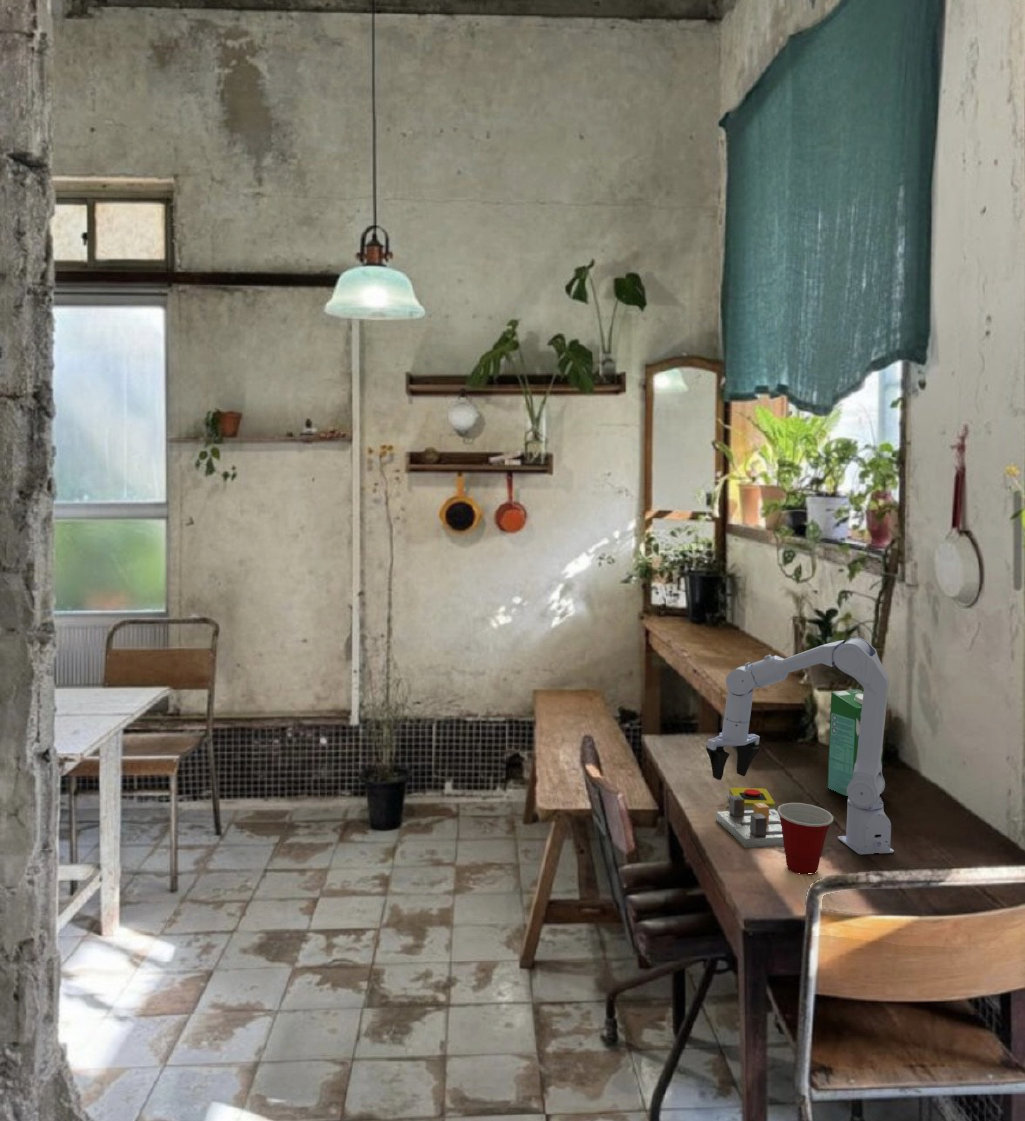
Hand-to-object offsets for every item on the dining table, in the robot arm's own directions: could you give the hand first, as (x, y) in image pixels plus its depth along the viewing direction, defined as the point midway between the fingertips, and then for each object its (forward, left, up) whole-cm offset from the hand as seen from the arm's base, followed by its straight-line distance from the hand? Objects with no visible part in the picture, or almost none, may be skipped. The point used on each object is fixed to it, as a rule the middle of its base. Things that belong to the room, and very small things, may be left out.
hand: (729, 776), depth 224 cm
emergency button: (+8, -9, -11) cm, 16 cm away
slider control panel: (-9, -4, -10) cm, 14 cm away
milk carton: (+15, -39, -10) cm, 43 cm away
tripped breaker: (-9, -4, -8) cm, 12 cm away
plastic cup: (-30, -4, -10) cm, 32 cm away
